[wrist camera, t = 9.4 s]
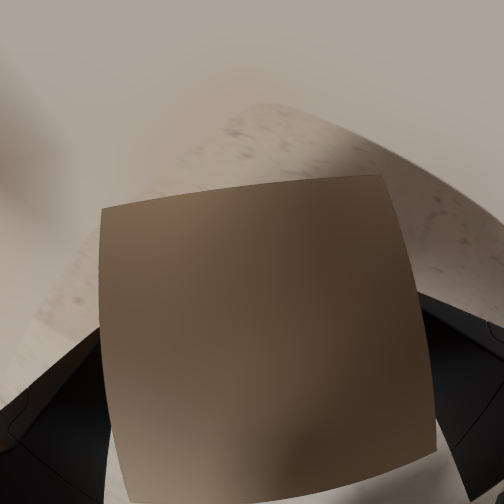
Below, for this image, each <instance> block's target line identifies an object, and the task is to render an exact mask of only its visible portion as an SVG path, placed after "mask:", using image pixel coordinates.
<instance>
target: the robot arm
mask: <svg viewBox="0 0 504 504" xmlns="http://www.w3.org/2000/svg"><path fill="white" fill-rule="evenodd" d="M417 293H418V298H419V302H420V307H421V312H422V317H423V322H424V327H425V333H426V339H427V345H428V351H429V358H430V365H431V373H432V382H433V392H434V403H435V417H436V419H437V421H438V424H439V426H440V428H441V430H442V433H443V435H444V437H445V439H446V442H447V444H448V446H449V449H450V451H451V454H452V456H453V459H454V461H455V464H456V466H457V469H458V471H459V474H460V477H461V479H462V482H463V484H464V487H465V490H466V493H467V495H468V498H469V500H470V502H472V501H474V500H475V499H477V498H478V497H480V496H481V495H483V494H484V493H486V492H487V491H489V490H490V489H491V488H493V487H494V486H495V485H497V484H498V483H499V482H501V481H502V480H503V479H504V328H502V327H500V326H497V325H495V324H493V323H491V322H486V320H484V319H481V318H479V317H477V316H474V315H472V314H470V313H467V312H465V311H463V310H460V309H458V308H456V307H453V306H451V305H448V304H446V303H444V302H441V301H439V300H436V299H434V298H432V297H429V296H427V295H424V294H422V293H420V292H417ZM110 433H111V421H110V416H109V410H108V403H107V396H106V389H105V381H104V373H103V363H102V352H101V339H100V327H99V328H97V329H96V330H94V331H93V332H92V333H91V334H90V335H88V336H87V337H86V338H85V339H84V340H82V341H81V342H80V343H79V344H78V345H76V346H75V347H74V348H73V349H72V350H70V351H69V352H68V353H67V354H66V355H64V356H63V357H62V358H61V359H60V360H59V361H57V362H56V363H55V364H54V365H53V366H52V367H50V368H49V369H48V370H47V371H46V372H45V373H43V374H42V375H41V376H40V377H39V378H38V379H37V380H35V381H34V382H33V383H32V384H31V385H30V386H29V387H28V388H26V389H25V390H24V391H23V392H22V393H21V394H20V395H18V396H17V397H16V398H15V399H14V400H13V401H11V402H10V403H9V404H8V405H6V406H5V407H4V408H3V409H1V410H0V504H103V503H104V488H105V476H106V466H107V456H108V448H109V440H110ZM495 504H504V491H503V492H502V493H500V494H499V495H498V497H497V500H496V503H495Z"/></svg>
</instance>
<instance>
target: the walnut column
mask: <svg viewBox="0 0 504 504" xmlns="http://www.w3.org/2000/svg"><path fill="white" fill-rule="evenodd" d="M99 322H100V339H101V352H102V363H103V373H104V381H105V389H106V396H107V403H108V410H109V416H110V421H111V427H112V432H113V437H114V442H115V447H116V451H117V456H118V460H119V464H120V468H121V472H122V476H123V480H124V483H125V487H126V490H127V494H128V497H129V500H130V502H134V503H143V504H251V503H260V502H268V501H275V500H282V499H288V498H294V497H299V496H304V495H309V494H314V493H318V492H323V491H327V490H331V489H335V488H339V487H342V486H346V485H349V484H353V483H356V482H359V481H363V480H366V479H369V478H372V477H375V476H378V475H381V474H383V473H386V472H389V471H391V470H394V469H397V468H399V467H402V466H404V465H407V464H409V463H411V462H414V461H416V460H418V459H421V458H423V457H425V456H427V455H429V454H431V453H434V452H436V451H437V446H436V418H435V403H434V392H433V382H432V373H431V365H430V358H429V351H428V345H427V339H426V333H425V327H424V322H423V317H422V312H421V307H420V302H419V298H418V293H417V289H416V285H415V280H414V276H413V272H412V269H411V265H410V261H409V257H408V254H407V250H406V247H405V243H404V240H403V236H402V233H401V230H400V227H399V224H398V220H397V217H396V214H395V211H394V208H393V205H392V203H391V200H390V197H389V194H388V191H387V189H386V186H385V183H384V181H383V178H382V175H364V176H347V177H332V178H319V179H307V180H296V181H285V182H275V183H266V184H257V185H248V186H240V187H232V188H224V189H217V190H209V191H202V192H195V193H189V194H182V195H176V196H170V197H163V198H158V199H152V200H146V201H140V202H135V203H129V204H124V205H119V206H114V207H109V208H104V209H102V214H101V227H100V244H99Z"/></svg>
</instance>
